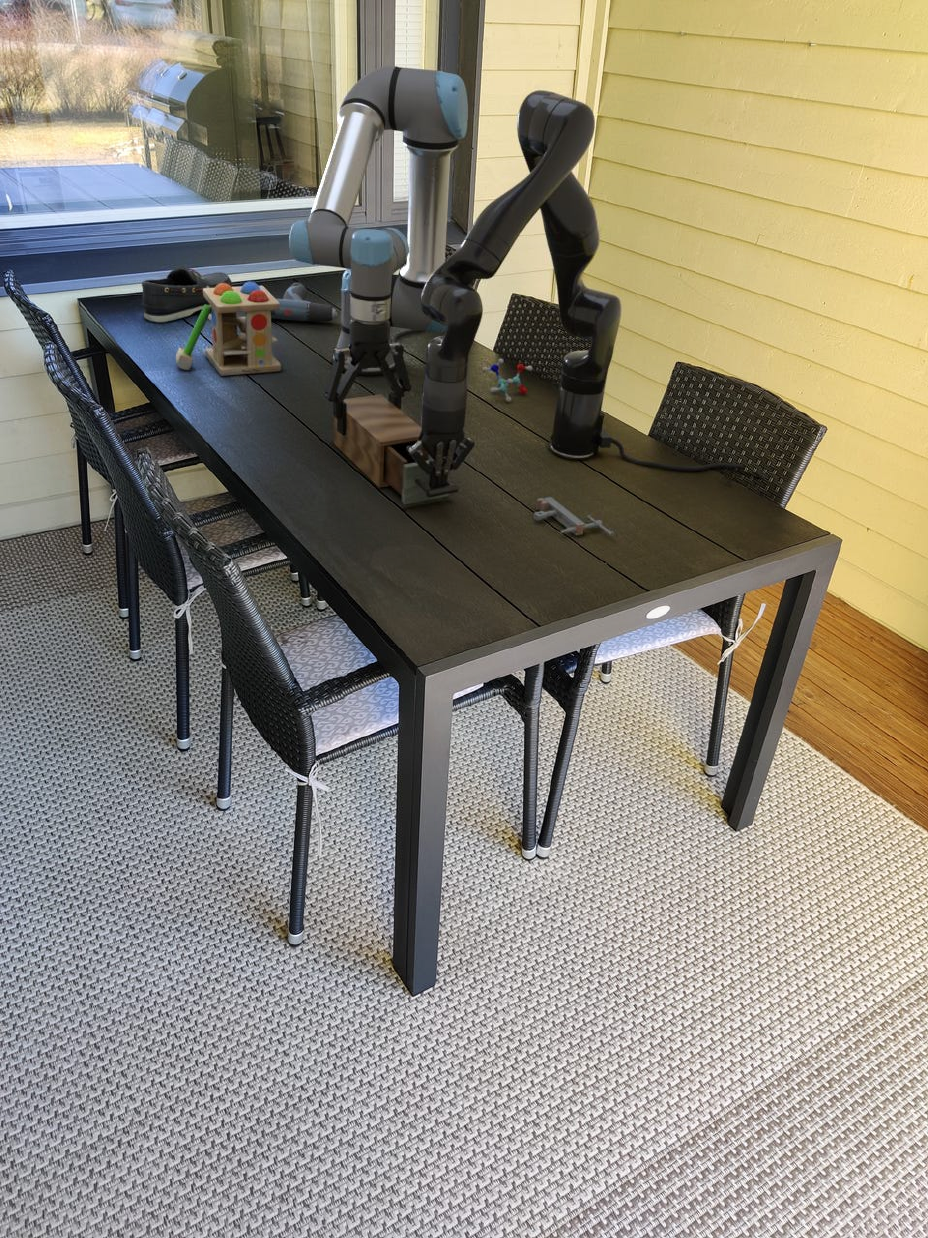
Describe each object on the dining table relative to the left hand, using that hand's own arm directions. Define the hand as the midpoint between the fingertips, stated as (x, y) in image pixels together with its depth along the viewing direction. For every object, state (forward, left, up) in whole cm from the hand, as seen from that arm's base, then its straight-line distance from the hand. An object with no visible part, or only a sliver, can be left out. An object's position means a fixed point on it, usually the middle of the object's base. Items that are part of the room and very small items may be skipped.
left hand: (367, 428), depth 196 cm
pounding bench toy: (-1, -54, -4) cm, 55 cm away
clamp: (-11, +46, -4) cm, 47 cm away
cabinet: (+1, +6, -4) cm, 7 cm away
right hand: (+6, +29, 0) cm, 29 cm away
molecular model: (-46, -6, -4) cm, 46 cm away
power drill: (-40, -78, -4) cm, 87 cm away
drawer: (+4, +18, -3) cm, 19 cm away
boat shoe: (-16, -96, -4) cm, 98 cm away
